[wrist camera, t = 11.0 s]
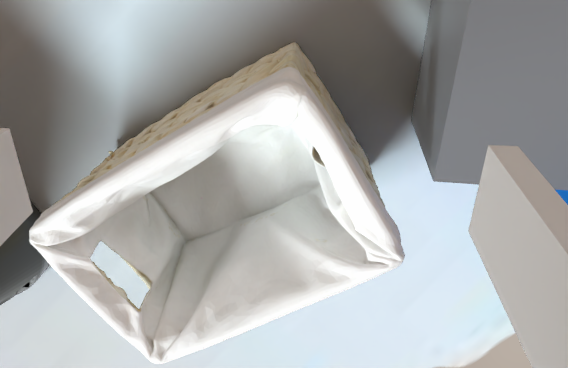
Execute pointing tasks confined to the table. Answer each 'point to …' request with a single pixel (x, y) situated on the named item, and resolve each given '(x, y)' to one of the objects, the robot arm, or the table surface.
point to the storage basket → (226, 213)
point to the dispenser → (494, 86)
